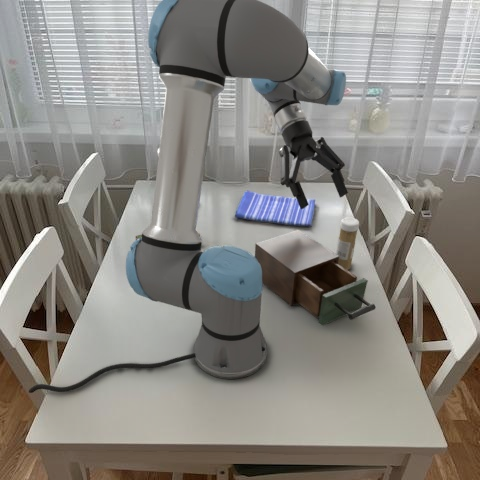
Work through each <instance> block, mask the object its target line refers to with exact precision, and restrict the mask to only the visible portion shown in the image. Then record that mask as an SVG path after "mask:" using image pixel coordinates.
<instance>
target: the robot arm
mask: <svg viewBox="0 0 480 480" xmlns="http://www.w3.org/2000/svg"><path fill="white" fill-rule="evenodd" d="M148 27H149V28H148V36H147V37H148V38H147V41H148V42H147V43H148V48H149V49H150V51H149V55H150V58H151V61H152V62H153V63H154V65H155V66H156V67H157V68H159V71H158V78H159V80H160V81H161V82H162V84H163V85H164V87H165V96H164V105H163V114H162V121H161V131H160V132H161V133H160V139H159V140H160V141H159V148H160V149H159V156H158V160H157V167H156V170H157V171H156V178H155V185H154V195H153V204H152V212H151V220H150V221H151V222H150V224H149V225H148V226H146V227H145V228H144V229H142V231H141V234H142V238H139V239H137V240H136V239H134V241H133V242H132V243H131V245H130V250H128V252H127V255H126V260H125V273H126V274H125V275H126V278H127V282H128V284H129V287H131V289H132V290H133V292H134V293H135V294H136V295H139V296H141V297H143V298H147V299H148V300H150V301H152V302H157V303H162V304H166V305H169V306H172V307H177V308H180V309H184V310H187V311H191V312H195V313H198V314H200V315H201V316H200V317H201V326H200V328H199V331H198V335H197V337H196V339H195V342H194V344H193V353H189V354H186V355H182V356H177V357H175V358H170V359H167V360H164V361H160V362H156V363H132V362H131V363H129V362H126V363H115V364H112V365H108V366H105V367H103V368H101V369H99V370H96V371H95V372H94V373H92V374H90V375H89V376H87V377H86V378H84V379H82V380H80V381H79V382H76V383H74V384H72V385H68V386H54V385H50V384H45V383H39V384H36V385H33V386H32V387H31V388H29V390H28V393H29V394H32V393H35V392H36V391H38V390H46V391H50V392H56V393H67V392H71V391H74V390H77V389H79V388H82V387H83V386H85V385H87V384H89V383H90V382H91V381H93V380H94V379H96V378H98V377H99V376H101V375H103V374H105V373H108V372H110V371H114V370H120V369H156V368H157V369H158V368H162V367H167V366H170V365H172V364H176V363H180V362H183V361H187V360H191V359H194V360H195V363H196V364H197V366H198V367H199V368H200V369H201V370H202V371H203V372H205V373H206V374H208V375H210V376H212V377H215V378H220V379H223V380H237V379H242V378H246V377H249V376H251V375H253V374H255V373H257V372H258V371H259V370H260V369H262V367H263V366H264V364H265V363H266V360H267V355H268V345H267V342H266V339H265V335H264V333H263V330H262V328H261V310H262V309H261V308H262V295H263V289H264V288H263V287H264V284H263V281H262V269H261V265H260V264H259V263H258V260H257V259H256V258H255V255H253V254H252V253H250V252H249V251H248V250H246V249H243V248H241V247H238V246H235V245H229V244H228V245H227V244H224V245H223V246H220V245H214V246H211V247H208V248H206V249H204V251H202V245H203V238H201V235H200V236H199V235H198V234H197V232H198V231H197V229H196V228H197V225H198V216H199V209H200V201H201V194H202V186H203V180H204V173H205V167H206V158H207V152H208V145H209V138H210V131H211V130H210V129H211V124H212V116H213V111H214V110H213V108H214V102H215V98H216V97H217V96H218V95H219V94H220V93H222V92H223V91H224V90H225V86H226V85H225V84H226V79H227V78H228V77H229V78H239V79H249V80H250V82H251V85H252V86H253V88H254V90H255V91H256V92H257V93H258V94H259V95H261V96H262V98H264V99H265V100H266V101H267V103H268V105H269V108H270V110H271V112H272V115H273V117H274V120H275V122H276V125H277V127H278V129H279V132H280V133H281V137H282V139H283V141H284V144H285V145H283V146H282V147H281V148H280V149H279V150H278V154H279V157H280V185H281V186H285V187H286V188H289V189H290V191H291V195H292V196H293V198H295V199H297V201H298V203H299V206H300V208H301V209H304V208H305V207H306V206H308V205H309V204H308V202H307V199H308V198H307V197H306V194H305V192H304V190H303V188H302V185H301V182H300V181H299V180H298V181H297V178H298V174H299V169H300V166H301V163H303V162H305V161H310V160H311V161H315V162H317V163H318V164H319V165H320V166H322V167H323V168H325V169H326V170H327V171H329V172H330V173H332V174H331V175H330V177H331V179H332V183H333V184H334V187H335V188H336V192H337V194H338V196H339V198H343V197H344V196H346V195H347V194H349V191H348V189H347V187H346V185H345V178H344V176H343V174H342V169H343V168H344V167H346V166H345V165H346V164H345V162H344V161H343V160H342V159H341V158H340V157H339V156H338V155H337V154H336V152H335V151H334V150H333V149H332V148H331V147H330V146H329V144H327V141H326V140H325V138H324V137H323V136H321V137H319V138H318V139H317V140H315V139H314V137H313V130H312V128H311V125H310V122H309V120H307V116H306V113H305V111H304V108H303V106H302V104H301V102H304V103H311V104H319V105H323V106H339V105H340V104H341V102H342V101H343V100H344V99H343V98H344V95H345V92H346V91H345V90H346V86H347V85H346V84H347V75H346V72H344V71H343V70H339V69H336V68H332V69H331V68H328V67H327V66H326V65H325V64H324V63H323V62H322V61H321V60H320V58H319V57H318V56H317V55H316V54H315V53H314V52H313V51H312V50H311V48H310V46H309V41H308V38H307V36H306V34H305V32H304V31H303V30H302V29H301V27H300V26H298V24H297V23H296V22H295V21H294V20H292V19H291V18H290V17H289V16H287V15H286V14H284V13H283V12H281V11H280V10H278V9H276V8H275V7H273V6H271V5H270V4H267V3H266V2H265V3H264V2H263V1H260V0H161V1H160V2H158V4H157V6H156V7H155V9H154V11H153V14H152V16H151V18H150V22H149V26H148ZM290 155H291V156H292V160H290V158H291V157H290ZM290 161H291V167H290ZM196 231H197V232H196Z"/></svg>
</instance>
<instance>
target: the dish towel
mask: <svg viewBox="0 0 480 480" xmlns="http://www.w3.org/2000/svg"><path fill="white" fill-rule="evenodd" d="M306 199H307V202H308V204H309V205H308V206H306V207H305V208H304V209H301V208H300V206H299V203H298V201H297V199H296V197H286V196H279V195H272V194H263V193H257V192H254V191H251V190H247V191H245V192H244V193H243V195H242V198H241V199H240V202H239V204H238V206H237V209H236V211H235V214H234V216H235V218H236V219H243V220H248V221H253V222H261V223H263V222H264V223H271V224H279V225H286V226H294V227H295V226H297V227H311V226H312V222H313V219H314V215H315V209H316V199H314V198H313V199H310V198H306Z"/></svg>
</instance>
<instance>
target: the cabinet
mask: <svg viewBox="0 0 480 480" xmlns="http://www.w3.org/2000/svg"><path fill="white" fill-rule="evenodd" d="M254 257H255V258H256V259H257V260H258V263H259V264H260V265H261V269H262V281H263V285H265V286H266V287H267V288H268V289H269V290H271V291H272V292H273V293H274V294H276V296H278V297H279V298H280V299H282V300H283V301H284V302H285V303H286V304H287V305H288V306H290V307H293V306H296V305H298V304H299V303H298V302H297V301H296V300H294V299H295V290H296V280H297V275H298V274H300V273H303V272H306V271H308V270H311V269H314V268H316V267H319V266H322V265H324V264H327V263H330V262H332V261H334V262H336V263H337V264H338V261H339V256H338V255H337V254H336V253H335V252H333V251H332V250H331V249H329V248H328V247H326V246H324V245H323V244H321V243H319V242H318V241H316V240H315V239H314V238H312V237H310V236H309V235H308V234H306V233H304V232H303V231H301V230H300V229H296V230H293V231H289V232H287V233H283V234H280V235H276V236H274V237H271V238H268V239H267V238H266V239H265V240H261V241H258V242H255V245H254Z"/></svg>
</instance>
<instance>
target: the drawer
mask: <svg viewBox="0 0 480 480" xmlns="http://www.w3.org/2000/svg"><path fill="white" fill-rule="evenodd" d="M367 285H368V280H367V279H366V278H364V277H362V278H360V279H358V276H356V275H355V274H354V273H352V272H351V271H349V269H348V270H346V269H345V268H343V267H342V266H340V265H339V264H337V263H336V262H334V261H332V262H330V263H327V264H324V265H322V266H319V267H316V268H314V269H311V270H308V271H306V272H303V273H300V274H298V275H297V280H296V290H295V299H294V300H296V301H297V302H298V304H299V305H300V306H301V307H303V308H304V309H305V310H307V312H309V313H310V314H312V315H313V316H314V317H315V318H318V324H319V325H320V326H324V325H326V324H328V323H331V322H333V321H335V320H337V319H340V318H342V317H344V316H347V318H348V319H349V320H350V321H352V320H355V319H357V318H359V317H361V316H364V315H365V314H368V313H370V312H372V311H374V310H376V305H375V303H370V302H369V301H367V300H366V299H365V294H366V290H367ZM363 305H364V306H363Z"/></svg>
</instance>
